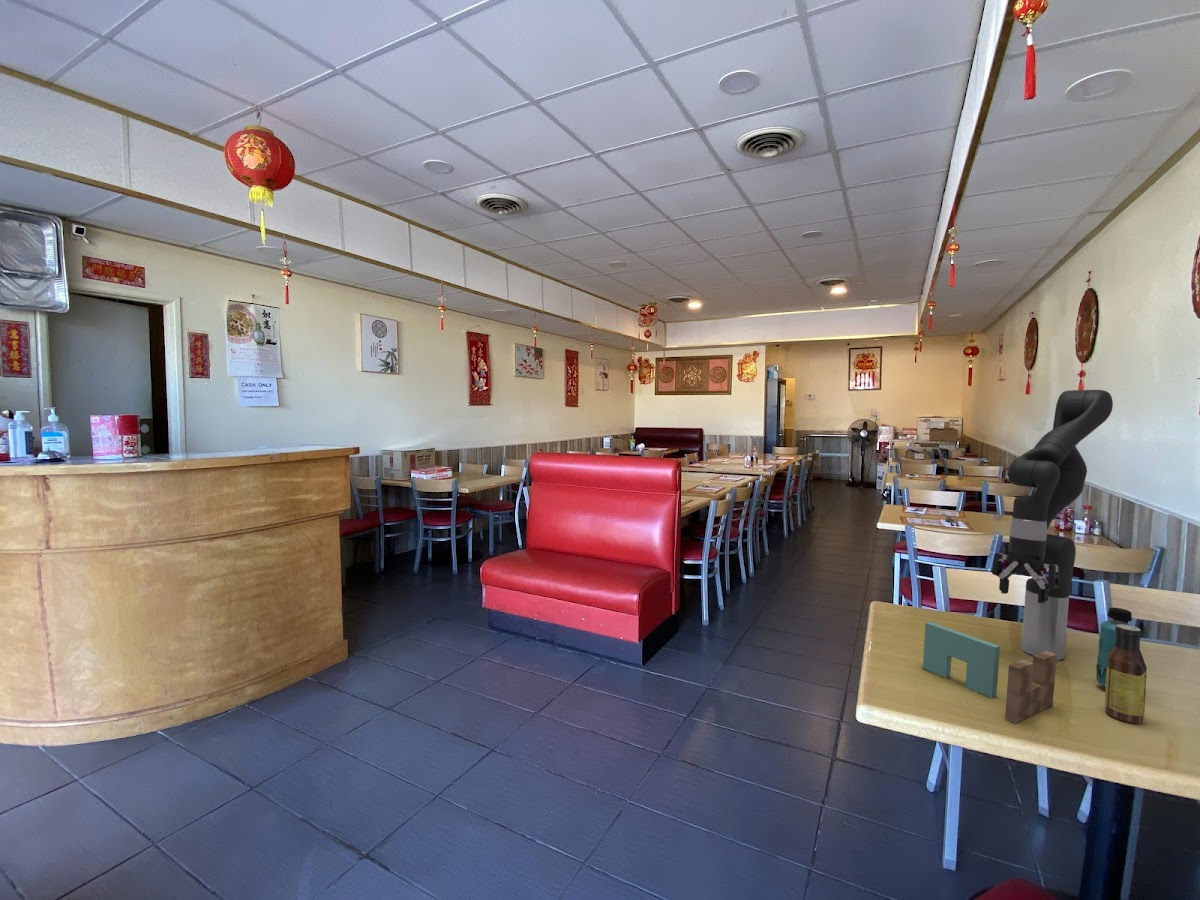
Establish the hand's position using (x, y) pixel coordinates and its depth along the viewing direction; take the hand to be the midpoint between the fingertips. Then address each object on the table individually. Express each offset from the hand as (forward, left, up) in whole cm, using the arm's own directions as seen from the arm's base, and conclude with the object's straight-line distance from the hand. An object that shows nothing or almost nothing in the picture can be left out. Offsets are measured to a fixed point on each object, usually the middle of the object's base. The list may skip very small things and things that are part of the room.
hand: (1022, 597), depth 141 cm
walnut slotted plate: (+25, +14, -18) cm, 34 cm away
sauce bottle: (+8, +24, -18) cm, 31 cm away
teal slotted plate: (+25, -1, -18) cm, 31 cm away
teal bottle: (-5, +18, -18) cm, 26 cm away
